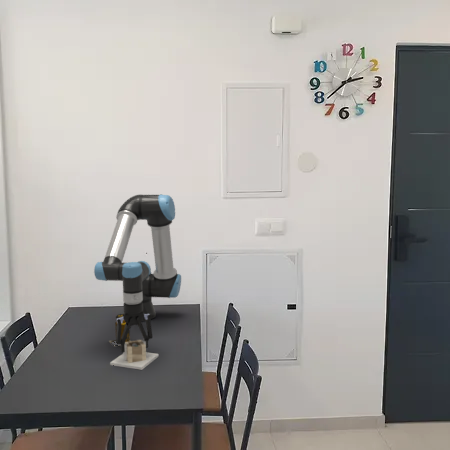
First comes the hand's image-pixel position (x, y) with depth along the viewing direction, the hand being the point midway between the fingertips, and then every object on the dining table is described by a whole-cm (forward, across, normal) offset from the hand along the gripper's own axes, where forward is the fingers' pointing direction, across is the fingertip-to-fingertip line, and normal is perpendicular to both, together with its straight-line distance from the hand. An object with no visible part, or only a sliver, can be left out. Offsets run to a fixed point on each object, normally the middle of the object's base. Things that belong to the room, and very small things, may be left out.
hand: (134, 357), depth 210 cm
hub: (+1, 0, 0) cm, 1 cm away
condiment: (+2, 0, +23) cm, 23 cm away
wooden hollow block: (0, 0, 0) cm, 0 cm away
